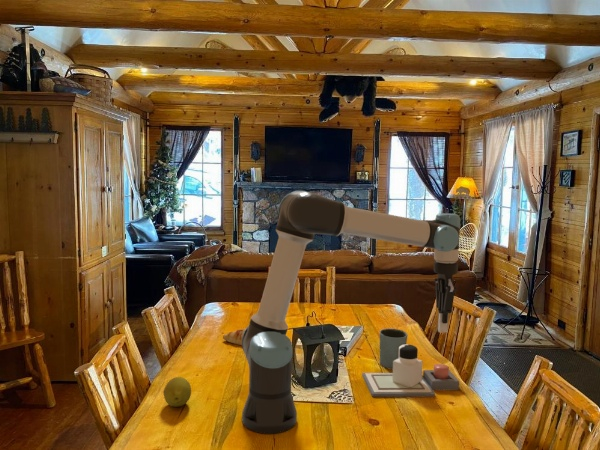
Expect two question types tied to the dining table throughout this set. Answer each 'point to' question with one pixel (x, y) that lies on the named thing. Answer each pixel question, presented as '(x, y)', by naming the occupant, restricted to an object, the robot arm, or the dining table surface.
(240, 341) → the croissant
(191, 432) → the dining table surface
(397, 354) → the grey cylindrical container
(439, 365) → the button
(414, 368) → the medicine bottle
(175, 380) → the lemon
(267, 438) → the dining table surface
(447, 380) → the button housing
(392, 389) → the picture board
